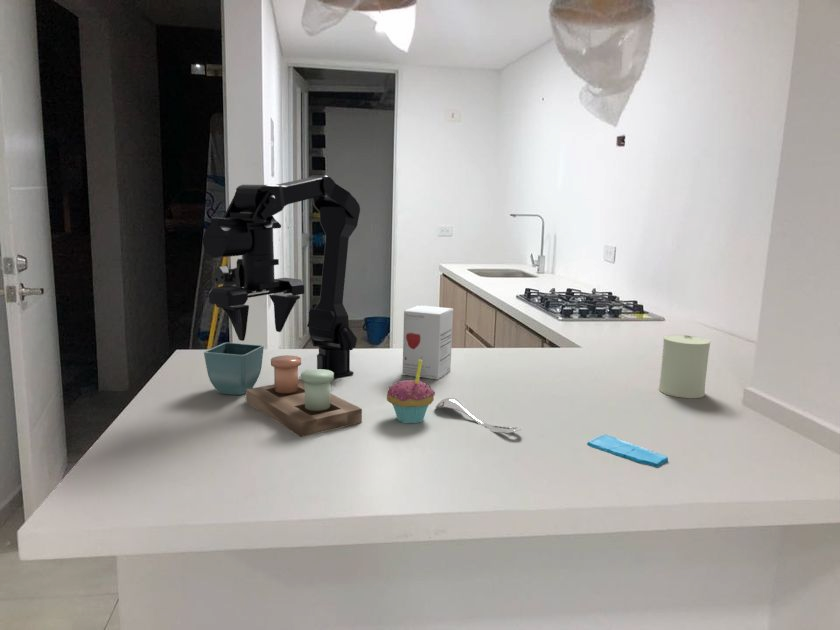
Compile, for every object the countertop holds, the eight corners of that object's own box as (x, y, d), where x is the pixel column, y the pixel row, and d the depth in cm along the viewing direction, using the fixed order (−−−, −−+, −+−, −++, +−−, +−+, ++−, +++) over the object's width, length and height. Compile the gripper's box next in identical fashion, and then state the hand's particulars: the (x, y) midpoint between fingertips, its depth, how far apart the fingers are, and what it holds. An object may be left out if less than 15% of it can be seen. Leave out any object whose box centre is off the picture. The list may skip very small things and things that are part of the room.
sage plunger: (323, 399, 111) (323, 367, 110) (339, 407, 107) (339, 374, 106) (295, 405, 108) (295, 372, 107) (311, 413, 104) (310, 379, 103)
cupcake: (439, 414, 113) (441, 351, 111) (424, 430, 105) (426, 362, 103) (396, 408, 115) (397, 347, 113) (378, 423, 108) (379, 357, 105)
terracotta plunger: (292, 383, 121) (292, 354, 120) (306, 390, 116) (306, 360, 115) (266, 388, 117) (265, 358, 116) (279, 395, 113) (278, 364, 112)
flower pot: (245, 399, 119) (244, 354, 117) (204, 396, 120) (202, 351, 119) (265, 387, 127) (264, 345, 125) (226, 383, 129) (225, 342, 127)
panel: (302, 391, 125) (302, 379, 124) (361, 422, 108) (361, 408, 107) (246, 401, 117) (245, 389, 117) (300, 437, 100) (300, 422, 100)
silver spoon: (529, 414, 103) (511, 420, 100) (529, 434, 104) (511, 441, 101) (447, 392, 118) (429, 397, 115) (448, 410, 119) (430, 415, 116)
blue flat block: (648, 468, 91) (671, 454, 94) (584, 442, 100) (606, 430, 104) (648, 477, 91) (671, 463, 95) (584, 450, 101) (606, 438, 104)
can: (704, 389, 133) (711, 335, 131) (704, 401, 125) (711, 343, 123) (659, 383, 137) (664, 330, 135) (656, 394, 128) (662, 338, 126)
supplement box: (400, 375, 138) (402, 310, 135) (416, 366, 146) (417, 304, 144) (438, 380, 135) (440, 313, 132) (451, 370, 143) (454, 307, 140)
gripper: (265, 248, 125) (267, 322, 128) (186, 254, 110) (191, 339, 113) (305, 251, 119) (307, 329, 122) (228, 258, 104) (232, 348, 107)
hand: (260, 335), depth 116 cm, fingers open, 9 cm apart
